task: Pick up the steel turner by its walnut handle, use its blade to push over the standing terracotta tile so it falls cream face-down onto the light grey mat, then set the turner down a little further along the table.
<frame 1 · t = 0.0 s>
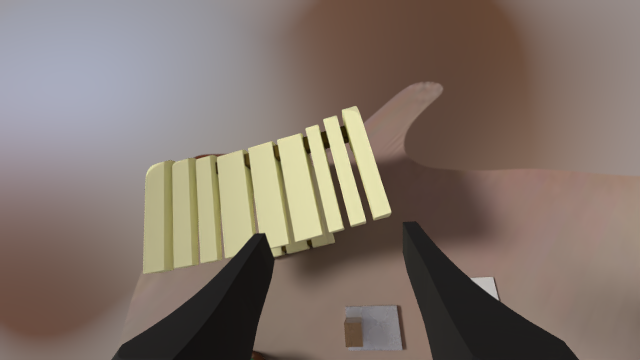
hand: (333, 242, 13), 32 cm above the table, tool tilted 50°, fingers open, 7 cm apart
turner: (363, 326, 40), on the table
slatted curved stool: (292, 209, 48), on the table
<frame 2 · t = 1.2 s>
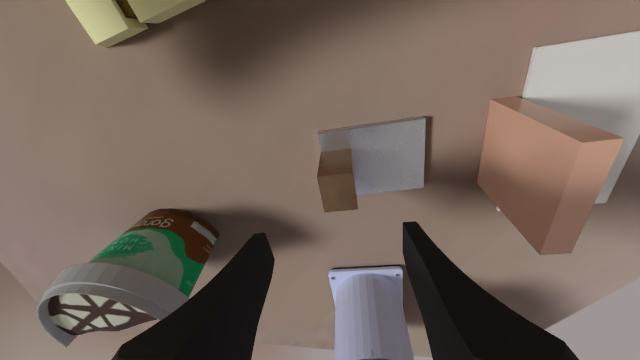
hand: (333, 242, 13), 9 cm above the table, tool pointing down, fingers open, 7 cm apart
turner: (353, 159, 21), on the table
mat: (572, 134, 19), on the table
food container: (168, 222, 27), on the table
tile: (494, 143, 20), on the table
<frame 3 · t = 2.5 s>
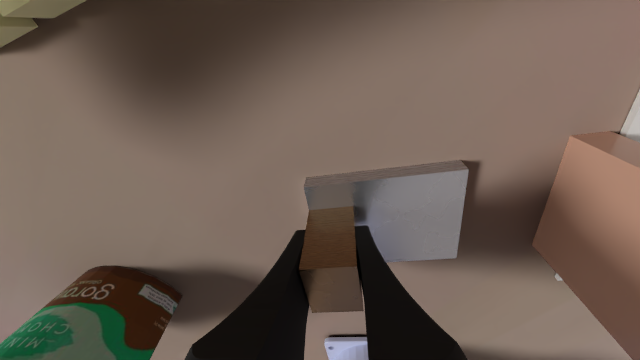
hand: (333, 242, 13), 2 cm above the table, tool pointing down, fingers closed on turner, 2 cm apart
turner: (356, 215, 15), on the table, touching gripper
food container: (115, 280, 21), on the table
tile: (565, 195, 13), on the table
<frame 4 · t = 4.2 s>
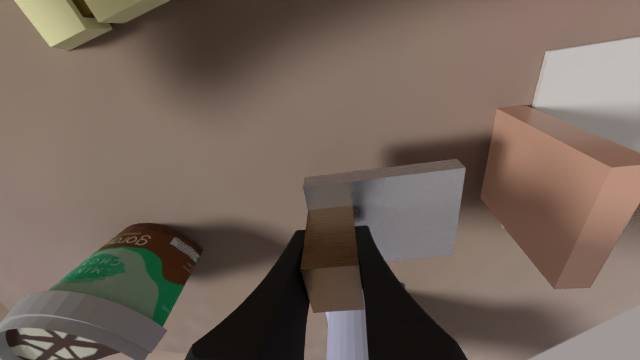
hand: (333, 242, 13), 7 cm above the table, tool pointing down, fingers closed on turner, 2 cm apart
turner: (355, 215, 15), point 5 cm above the table, touching gripper
mat: (587, 147, 17), on the table
food container: (147, 237, 25), on the table
tile: (500, 156, 18), on the table
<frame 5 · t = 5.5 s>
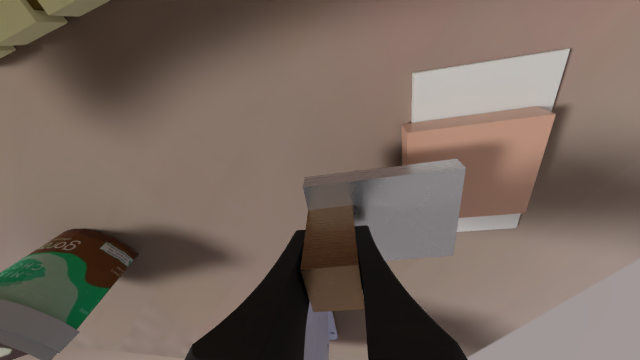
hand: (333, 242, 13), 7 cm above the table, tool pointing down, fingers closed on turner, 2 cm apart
turner: (355, 215, 15), point 5 cm above the table, touching gripper
mat: (470, 160, 18), on the table
food container: (85, 242, 26), on the table
tile: (404, 176, 18), point 1 cm above the table, tilted 90°, touching mat
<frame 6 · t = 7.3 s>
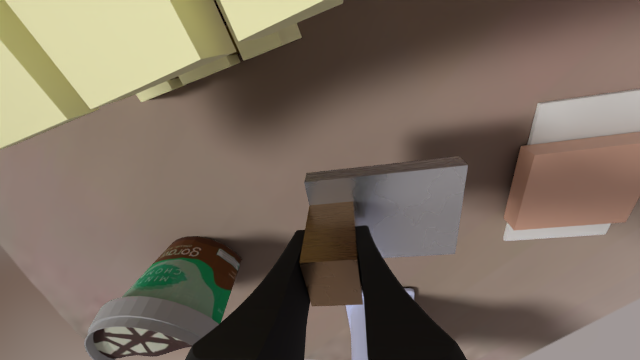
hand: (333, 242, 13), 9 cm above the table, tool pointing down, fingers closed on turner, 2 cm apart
turner: (356, 211, 15), point 7 cm above the table, touching gripper
mat: (574, 175, 20), on the table
food container: (193, 248, 29), on the table
tile: (517, 190, 20), point 1 cm above the table, tilted 90°, touching mat
when the fingers open (4 cm above the table, at t = 8.7 s): turner drops 2 cm, on the table.
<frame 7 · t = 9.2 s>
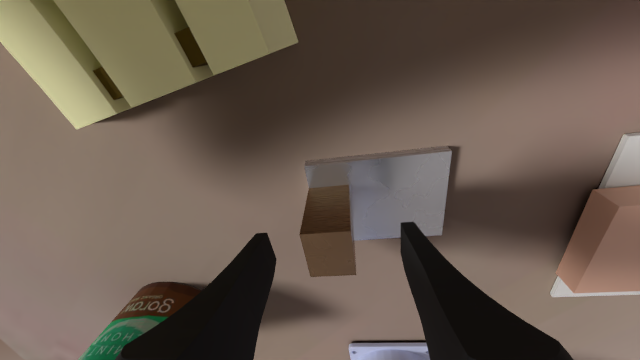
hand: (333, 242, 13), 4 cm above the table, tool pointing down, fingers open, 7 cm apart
turner: (352, 195, 16), on the table
food container: (167, 293, 24), on the table
tile: (582, 245, 15), point 1 cm above the table, tilted 90°, touching mat
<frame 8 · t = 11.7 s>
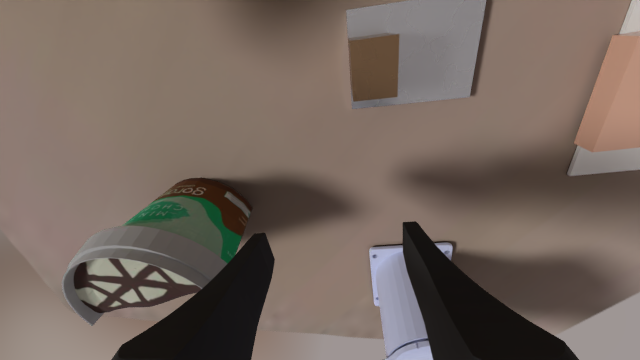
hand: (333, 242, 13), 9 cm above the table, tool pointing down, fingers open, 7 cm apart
turner: (385, 57, 17), on the table
food container: (196, 194, 25), on the table
tile: (601, 97, 16), point 1 cm above the table, tilted 90°, touching mat
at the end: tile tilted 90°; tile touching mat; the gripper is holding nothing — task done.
